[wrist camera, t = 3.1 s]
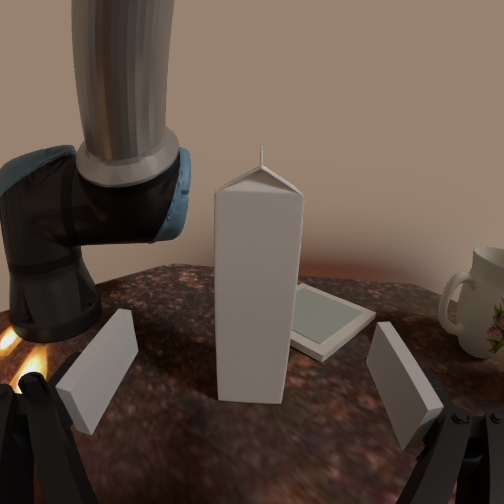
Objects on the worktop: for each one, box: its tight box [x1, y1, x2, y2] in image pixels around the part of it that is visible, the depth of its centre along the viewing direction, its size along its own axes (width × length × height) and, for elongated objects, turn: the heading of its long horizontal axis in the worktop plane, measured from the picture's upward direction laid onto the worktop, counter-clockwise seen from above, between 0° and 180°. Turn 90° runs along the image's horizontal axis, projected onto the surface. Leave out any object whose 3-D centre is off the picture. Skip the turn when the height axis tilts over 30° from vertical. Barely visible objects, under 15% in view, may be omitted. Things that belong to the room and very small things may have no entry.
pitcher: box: [438, 247, 504, 358], centre depth 29 cm, size 11×18×14 cm, turn 86°
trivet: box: [290, 283, 376, 362], centre depth 40 cm, size 14×14×1 cm
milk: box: [214, 145, 304, 404], centre depth 24 cm, size 6×6×22 cm
